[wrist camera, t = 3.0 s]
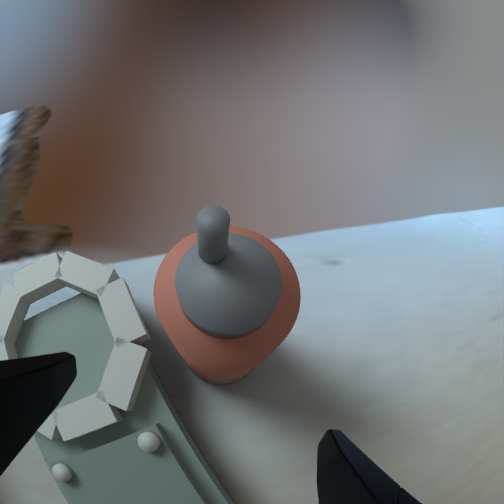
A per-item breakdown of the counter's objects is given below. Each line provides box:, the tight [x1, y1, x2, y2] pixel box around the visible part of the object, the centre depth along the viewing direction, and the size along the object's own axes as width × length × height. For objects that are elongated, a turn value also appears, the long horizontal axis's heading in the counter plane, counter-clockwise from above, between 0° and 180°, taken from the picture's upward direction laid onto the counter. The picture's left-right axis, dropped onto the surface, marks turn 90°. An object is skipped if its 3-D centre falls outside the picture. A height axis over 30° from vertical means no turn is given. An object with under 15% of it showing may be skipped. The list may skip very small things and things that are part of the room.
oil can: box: [154, 206, 300, 384], centre depth 16 cm, size 5×5×15 cm
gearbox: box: [0, 251, 235, 504], centre depth 17 cm, size 21×12×5 cm, turn 30°
